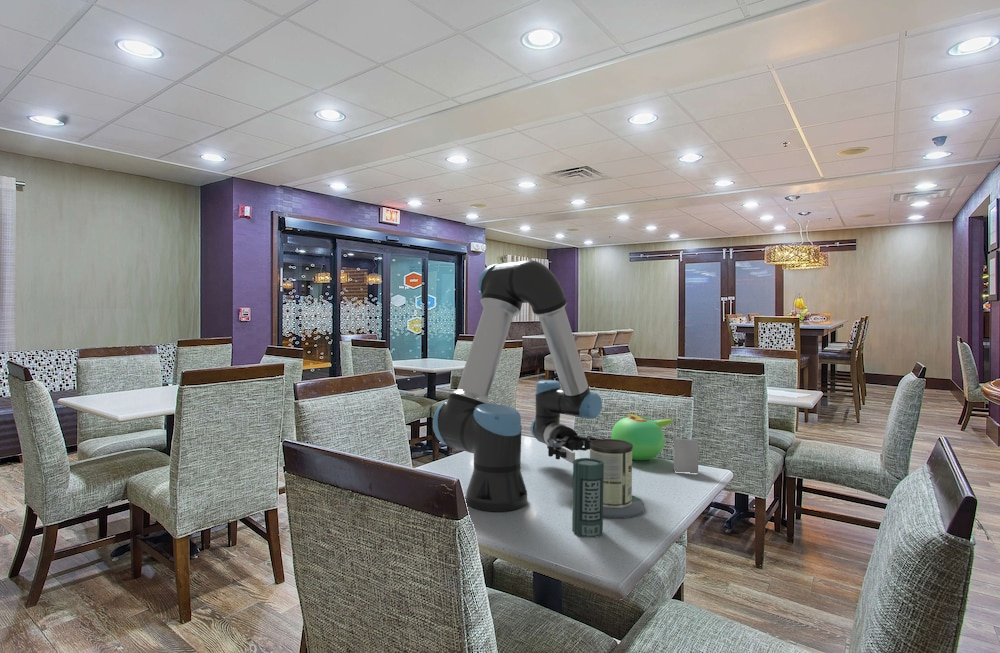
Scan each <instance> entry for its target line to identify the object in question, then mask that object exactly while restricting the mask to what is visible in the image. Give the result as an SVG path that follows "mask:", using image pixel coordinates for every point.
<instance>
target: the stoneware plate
mask: <svg viewBox="0 0 1000 653" xmlns="http://www.w3.org/2000/svg"><path fill="white" fill-rule="evenodd" d="M643 513H645V503H644V501H643V500H642V499H641V498H639V497H638V496H634V495H632V504H631V505H630V506H628V507H625V508H605V507H603V519H604V518H606V519H615V520H616V519H631V518H634V517H637V516H641V515H642V514H643Z"/></svg>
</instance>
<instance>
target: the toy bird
mask: <svg viewBox="0 0 1000 653" xmlns="http://www.w3.org/2000/svg"><path fill="white" fill-rule="evenodd" d="M673 422H674V420H673V419H669V418H667V419H657V420H652V419H649V418H648V417H647V416H640V415H636V414H631V413H628V414H627V416H625V417H623V418H621V419H620V420H618V421H617V422H615V424H614V426H613V428H612V430H611V433H610V434H611V438H610V439H615V440H622V441H626V442H629V443H631V444H632V445H633V449H632V460H633V461H634V460H635V461H647V460H652V459H655V458H656V457H657V456H659V454H661V453H662V451H663V450H664V447H665V441H666V437H665V434H664V430H663V429H662V428H664V427H666V426H668V425H670V424H672V423H673Z"/></svg>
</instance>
